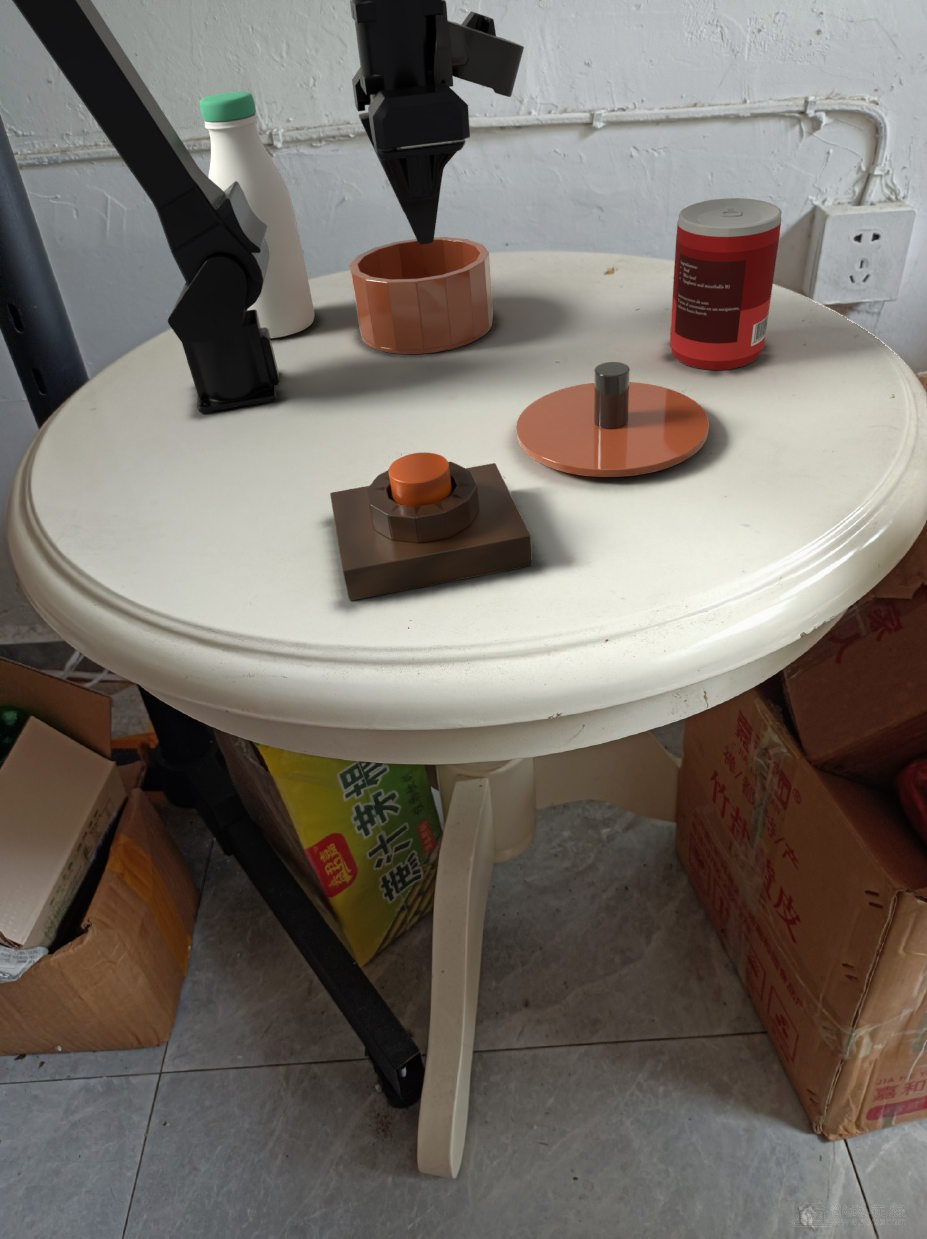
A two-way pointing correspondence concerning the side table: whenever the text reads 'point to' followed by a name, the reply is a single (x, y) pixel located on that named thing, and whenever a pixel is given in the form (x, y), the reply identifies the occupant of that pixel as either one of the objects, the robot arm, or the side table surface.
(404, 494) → the button
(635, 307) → the side table surface
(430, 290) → the jar
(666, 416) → the jar lid
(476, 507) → the block
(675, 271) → the canned food
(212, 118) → the milk bottle
